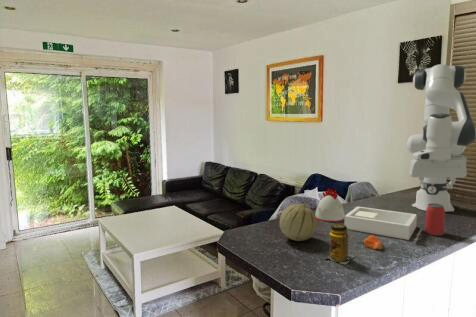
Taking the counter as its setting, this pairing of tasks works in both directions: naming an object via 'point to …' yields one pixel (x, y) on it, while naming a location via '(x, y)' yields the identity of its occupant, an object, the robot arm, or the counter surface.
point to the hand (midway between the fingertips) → (436, 188)
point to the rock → (373, 242)
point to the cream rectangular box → (367, 215)
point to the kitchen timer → (330, 208)
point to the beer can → (435, 219)
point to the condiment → (339, 244)
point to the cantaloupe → (298, 222)
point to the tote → (382, 223)
